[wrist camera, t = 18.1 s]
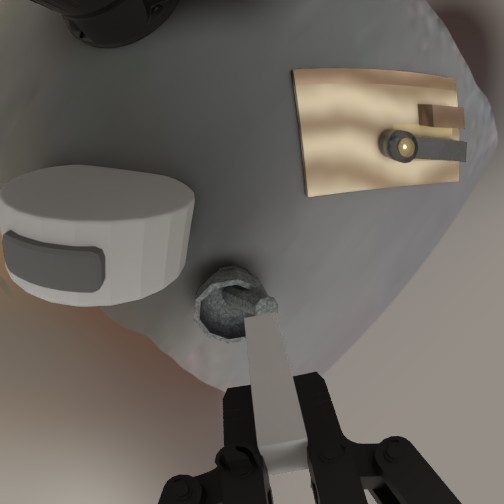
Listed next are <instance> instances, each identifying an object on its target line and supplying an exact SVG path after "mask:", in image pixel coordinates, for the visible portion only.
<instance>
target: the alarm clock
mask: <svg viewBox="0 0 504 504" xmlns="http://www.w3.org/2000/svg"><path fill="white" fill-rule="evenodd" d="M194 203H195V198H194V192H193V191H192V190H191V189H190V188H189V187H188V186H187V185H185V184H183V183H182V182H180V181H178V180H176V179H174V178H171V177H168V176H165V175H158V174H151V173H144V172H137V171H130V170H122V169H115V168H107V167H98V166H89V165H65V166H56V167H49V168H44V169H39V170H35V171H32V172H29V173H26V174H23V175H20V176H18V177H16V178H14V179H12V180H10V181H8V182H7V183H6V184H5V185H4V186H3V187H2V188H1V190H0V226H1V236H2V245H3V252H4V259H5V265H6V269H7V270H8V272H9V274H10V276H11V278H12V280H13V281H14V282H15V283H16V284H18V285H19V286H20V287H21V288H22V289H24V290H25V291H26V292H27V293H30V294H32V295H35V296H37V297H39V298H42V299H44V300H47V301H49V302H54V303H61V304H67V305H73V306H79V307H81V306H111V305H116V304H120V303H125V302H130V301H134V300H139V299H142V298H144V297H146V296H149V295H151V294H153V293H156V292H158V291H160V290H162V289H164V288H165V287H166V286H168V285H169V284H170V283H171V282H173V281H174V280H175V279H176V278H178V276H179V275H180V273H181V271H182V269H183V267H184V266H185V261H186V254H187V247H188V241H189V234H190V228H191V221H192V215H193V209H194Z"/></svg>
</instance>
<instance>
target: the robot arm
mask: <svg viewBox="0 0 504 504" xmlns="http://www.w3.org/2000/svg"><path fill="white" fill-rule="evenodd" d="M31 1H33V2H35V3H38V4H40V5H42V6H45V7H47V8H49V9H51V10H54V11H56V12H58V13H60V14H62V16H63V18H64V20H65V22H66V24H67V26H68V28H69V30H70V31H71V32H72V34H73V35H74V36H75V37H77V38H78V39H80V40H81V41H83V42H85V43H88V44H90V45H92V46H96V47H102V48H112V47H119V46H124V45H127V44H130V43H133V42H135V41H138V40H140V39H142V38H143V37H145V36H147V35H148V34H150V33H151V32H153V31H154V30H155V29H157V28H158V27H159V26H160V25H161V24H162V23H163V22H164V21H165V20H166V19H167V18H168V17H169V16H170V14H171V13H172V11H173V10H174V8H175V6H176V4H177V2H178V0H31ZM244 322H245V332H246V342H247V352H248V362H249V372H250V381H251V385H247V386H240V387H233V388H228V389H227V391H226V393H225V395H224V398H223V419H224V421H223V424H224V425H223V426H224V447H223V448H222V449H220V451H219V452H218V453H217V455H216V458H215V463H216V464H217V467H216V468H215V469H214V470H212V471H209V472H207V473H204V474H201V475H199V476H195V477H192V476H189V475H177V476H174V477H172V478H171V479H169V480H168V481H167V483H166V484H165V486H164V488H163V491H162V494H161V497H160V499H159V502H158V504H273V497H272V490H271V487H270V483H269V476H268V475H275V474H280V473H287V472H293V471H298V470H303V469H308V468H309V472H310V476H311V488H312V490H313V494H314V499H315V504H368V503H367V500H366V496H365V493H364V490H363V489H368V490H369V492H370V493H371V495H372V496H373V498H374V499H375V501H376V502H377V504H461V502H460V501H459V500H458V499H457V498H456V496H455V495H454V494H453V493H452V492H451V491H450V489H449V488H448V487H447V486H446V484H445V483H444V482H443V481H442V480H441V478H440V477H439V476H438V475H437V474H436V472H435V471H434V470H433V469H432V467H431V466H430V465H429V464H428V463H427V461H426V460H425V459H424V458H423V457H422V455H421V454H420V453H419V452H418V451H417V450H416V448H415V447H414V446H413V445H412V444H411V442H410V441H408V440H407V439H406V438H403V437H400V436H391V437H389V438H386V439H384V440H383V441H382V442H381V443H379V444H358V443H355V442H352V441H350V440H348V439H347V438H346V437H345V436H344V435H343V433H342V431H341V428H340V425H339V422H338V419H337V416H336V413H335V410H334V407H333V404H332V401H331V398H330V395H329V393H328V389H327V386H326V383H325V380H324V379H323V378H322V377H321V376H320V375H319V374H318V373H317V372H312V373H308V374H303V375H298V376H292V372H291V368H290V364H289V360H288V355H287V351H286V347H285V343H284V339H283V335H282V331H281V327H280V323H279V319H278V315H277V312H274V313H269V314H264V315H258V316H253V317H247V318H244Z"/></svg>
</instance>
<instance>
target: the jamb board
mask: <svg viewBox="0 0 504 504" xmlns="http://www.w3.org/2000/svg"><path fill="white" fill-rule="evenodd" d="M291 74H292V81H293V88H294V95H295V102H296V110H297V117H298V125H299V133H300V142H301V151H302V160H303V170H304V180H305V191H306V195H307V196H308V197H312V196H319V195H327V194H335V193H343V192H351V191H359V190H368V189H377V188H387V187H397V186H407V185H418V184H429V183H441V182H454V181H459V161H446V160H431V159H413V160H412V161H411V162H409V163H401V162H398V161H396V160H393V159H390V158H387V157H385V156H384V155H383V154H382V153H381V151H380V149H379V145H378V141H379V137H380V135H381V134H382V132H383V131H385V130H387V129H396V130H403V131H408V132H410V133H412V134H413V135H420V136H431V137H440V138H448V139H454V140H459V129H465V122H464V108H461V107H458V106H457V94H456V83H455V79H454V78H448V77H442V76H436V75H429V74H421V73H413V72H404V71H392V70H378V69H355V68H318V69H294V70H292V71H291Z"/></svg>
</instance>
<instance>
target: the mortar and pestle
mask: <svg viewBox="0 0 504 504" xmlns="http://www.w3.org/2000/svg"><path fill="white" fill-rule="evenodd" d="M274 312H278V304H277V302H276V300H275V299H274V298H273V297H270V296H268V294H267V293H266V291H265V289H264V288H263V286H262V284H261V283H260V281H259V280H258V278H257V277H254V276H252V275H249V273H248V272H247V271H246V270H244V269H241V268H239V267H236V266H229V267H223V268H220V269H219V270H218V271H217V272H216V273H214V274H213V275H212V276H211V277H210V278H209V279H208V280H207V281H206V282H205V283H204V284H202V285H201V286H200V287H199V289H198V291H197V293H196V297H195V310H194V321H195V322H196V323H197V324H198V326H199V327H200V328H201V329H202V331H203V332H204V333H205V334H206V336H208V337H211V338H214V339H217V340H220V341H223V342H226V343H233V342H239V341H245V340H246V332H245V322H244V318H247V317H253V316H258V315H264V314H269V313H274Z"/></svg>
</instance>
